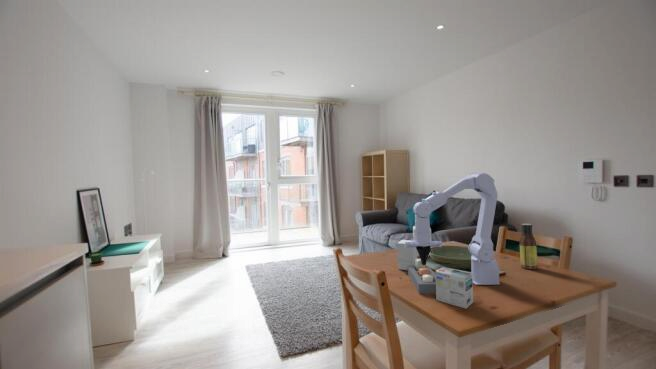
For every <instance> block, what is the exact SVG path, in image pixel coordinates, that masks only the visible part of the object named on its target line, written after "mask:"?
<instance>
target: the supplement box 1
mask: <svg viewBox="0 0 656 369" xmlns="http://www.w3.org/2000/svg"><path fill="white" fill-rule="evenodd" d="M412 241H413V240H409V239H401V240H399V241H398V242H397V243H396V246H397V264H398V267H397V268H398V270H403V271H408V266H416V259H418V257H417V249H416V247H408V248H405V242H412Z"/></svg>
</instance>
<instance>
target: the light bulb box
mask: <svg viewBox="0 0 656 369" xmlns="http://www.w3.org/2000/svg"><path fill="white" fill-rule="evenodd" d="M434 273H435V274H436V293H435V297H436V298H435V300H436V301H439V302H441V303H445V304H449V305H452V306H456V307H458V308H463V309H468V308H469V307H470V306H471V305H473V303H474V283H473V277H472V272H471V271H466V270H460V269H455V268H451V267H447V266H442V267H440V268H439V269H436V270H435V272H434Z"/></svg>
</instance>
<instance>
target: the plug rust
mask: <svg viewBox="0 0 656 369" xmlns="http://www.w3.org/2000/svg"><path fill="white" fill-rule="evenodd" d="M426 274H428V275H429V269H427V268H419V276H423V275H426Z"/></svg>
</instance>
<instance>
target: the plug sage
mask: <svg viewBox="0 0 656 369" xmlns="http://www.w3.org/2000/svg"><path fill="white" fill-rule="evenodd" d="M425 266H426V265H422V264H421V259H420V258H417V259H416V271H419V268H425Z"/></svg>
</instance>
